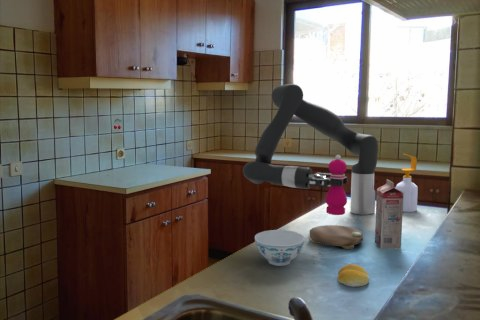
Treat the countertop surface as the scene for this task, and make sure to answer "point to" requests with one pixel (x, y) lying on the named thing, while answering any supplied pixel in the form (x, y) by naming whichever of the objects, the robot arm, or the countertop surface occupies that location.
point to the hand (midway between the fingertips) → (344, 181)
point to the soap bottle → (409, 188)
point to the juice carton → (388, 217)
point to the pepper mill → (336, 188)
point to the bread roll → (353, 276)
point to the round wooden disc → (336, 236)
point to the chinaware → (279, 245)
